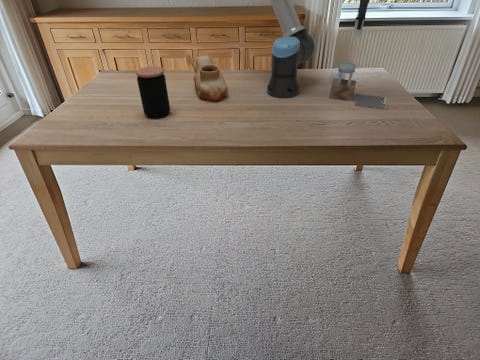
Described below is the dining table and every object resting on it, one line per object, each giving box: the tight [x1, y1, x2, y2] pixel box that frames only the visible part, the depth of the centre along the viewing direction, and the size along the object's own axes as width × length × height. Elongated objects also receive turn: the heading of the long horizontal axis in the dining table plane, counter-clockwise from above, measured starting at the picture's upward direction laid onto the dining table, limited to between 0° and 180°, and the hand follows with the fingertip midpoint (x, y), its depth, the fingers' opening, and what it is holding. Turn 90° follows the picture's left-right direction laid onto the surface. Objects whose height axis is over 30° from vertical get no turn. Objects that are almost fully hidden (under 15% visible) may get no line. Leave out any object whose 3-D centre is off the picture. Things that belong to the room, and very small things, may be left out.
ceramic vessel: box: [193, 55, 228, 103], centre depth 143 cm, size 14×26×15 cm, turn 18°
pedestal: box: [329, 78, 357, 102], centre depth 140 cm, size 10×10×6 cm
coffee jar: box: [135, 65, 171, 120], centre depth 123 cm, size 11×11×18 cm
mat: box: [354, 93, 388, 109], centre depth 136 cm, size 13×13×1 cm
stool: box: [337, 62, 357, 86], centre depth 136 cm, size 7×7×8 cm
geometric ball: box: [328, 67, 347, 84], centre depth 153 cm, size 8×8×8 cm
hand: (356, 34), depth 127 cm, fingers open, 13 cm apart
